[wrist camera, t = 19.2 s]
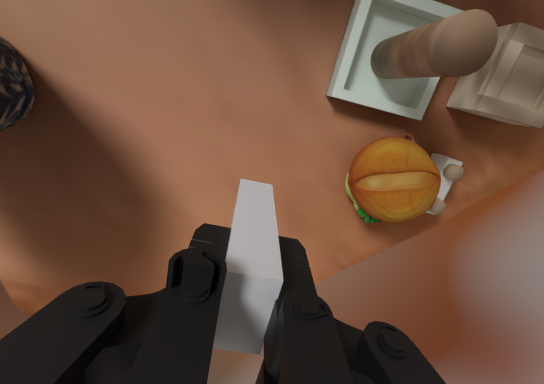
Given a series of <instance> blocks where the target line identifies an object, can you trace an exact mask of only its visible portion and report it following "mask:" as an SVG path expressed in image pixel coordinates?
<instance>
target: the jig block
mask: <svg viewBox="0 0 544 384" xmlns="http://www.w3.org/2000/svg"><path fill="white" fill-rule="evenodd" d="M497 28H498V40H497V44H496V48H495V50H494V52H493V54H492V56H491V58H490V59H489V60H488V62H487V63H486V64H485V65H484V66H483V67H482V68H480V69H479V70H478V71H476V72H474V73H472V74H470V75H466V76H459V79H458V81H457V83H456V85H455V87H454V89H453V92H452V94H451V96H450V98H449V100H448V103H447V105H446V106H447V107H450V108H454V109H457V110H461V111H464V112H468V113H471V114H475V115H479V116H482V117H486V118H489V119H493V120H496V121H500V122H503V123H509V124H516V125H522V126H528V127H534V128H541V129H542V127H543V125H544V30H542V29H539V28H536V27H534V26H531V25H528V24H525V23H522V22H517V23H513V24H508V25H504V26H500V27H497Z"/></svg>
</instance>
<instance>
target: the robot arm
mask: <svg viewBox="0 0 544 384" xmlns="http://www.w3.org/2000/svg"><path fill="white" fill-rule="evenodd" d="M263 343H264V360H263V362H262V365H261V368H260V371H259V375H258V378H257V380H256V383H255V384H446V383H445V382H444V381H443V379H442V378H441V377H440V376H439V374H438V373H437V372H436V371H435V369H434V368H433V367H432V365H431V364H430V363H429V362H428V361H427V359H426V358H425V357H424V355H422V353H421V352H420V351H419V349H418V348H417V347H416V345H415V344H414V343H413V342H412V341H411V340H410V339H409V338H408V337H407V336H406V335H405V334H404V333H403V332H402V331H400V330H399V329H397V328H396V327H394V326H392V325H390V324H387V323H385V322H378V321H374V322H371V323H368V325H367V326H366V328H365V329H364V331H361V330H359V329H357V328H354V327H352V326H350V325H347V324H345V323H343V322H341V321H339V320H337V319H335V318H334V317H333V314H332V312H331V310H330V308H329V306H328V305H327V303H326V302H324V300H322V298H320V297H318V296H317V293H316V289H315V285H314V281H313V277H312V274H311V270H310V267H309V262H308V259H307V255H306V251H305V248H304V247H303V246H302V244H301V243H300V242H299V241H298V240H297V239H292V238H287V237H282V236H278V230H277V222H276V213H275V205H274V196H273V188H272V185H269V184H265V183H260V182H255V181H250V180H245V179H241V181H240V186H239V190H238V195H237V200H236V205H235V209H234V214H233V219H232V224H231V228H227V227H222V226H216V225H211V224H206V223H204V224H203V225H201V226H200V227H199V228H197V229H196V230H195V233H194V235H193V237H192V240H191V242H190V244H189V248H188V249H184V250H181V251H179V252H177V253H175V254H174V255H173V256H172V257H171V259H170V260H169V265H168V274H167V283H166V288H164V289H162V290H160V291H158V292H155V293H151V294H146V295H138V296H128V297H126V295H125V293H124V292H123V290H122V288H120V287H118V286H117V285H115V284H113V283H108V282H102V281H100V282H88V283H85V284H81V285H78V286H75V287H73V288H71V289H69V290H67V291H66V292H64V293H62V294H61V295H59V296H58V297H57V298H55V299H54V300H53V301H51V302H50V303H49V304H47V305H46V306H45V307H43V308H42V309H41V310H39V311H38V312H37V313H35V314H34V315H33V316H31V317H30V318H29V319H27V320H26V321H25V322H24V323H22V324H21V325H20V326H18V327H17V328H16V329H14V330H13V331H12V332H10V333H9V334H7V335H6V336H5V337H3V338H2V339H1V340H0V384H207V378H208V373H209V367H210V361H211V354H212V349H221V350H229V351H237V352H245V353H253V354H260V352H261V349H262V346H263Z"/></svg>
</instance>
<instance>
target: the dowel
mask: <svg viewBox="0 0 544 384" xmlns="http://www.w3.org/2000/svg"><path fill="white" fill-rule="evenodd" d="M497 40H498V28H497V24H496V22H495V20H494V18H493V17H492V16H491V15H490V14H489V13H488V12H486V11H484V10H481V9H471V10H467V11H464V12H461V13H459V14H456V15H453V16H450V17H447V18H444V19H441V20H439V21H436V22H433V23H430V24H427V25H424V26H422V27H419V28H416V29H413V30H410V31H407V32H404V33H402V34H399V35H396V36H393V37H390V38H387V39H385V40H383V41H381V42H380V43H379V44H378V45H377V46H376V47H375V48H374V50H373V52H372V55H371V61H370V63H371V68H372V71H373V72H374V74H375V75H376V76H378V77H379V78H382V79H400V78H426V77H452V76H466V75H470V74H472V73H474V72H476V71H478V70H479V69H480V68H482V67H483V66H484V65H485V64H486V63H487V62H488V60H489V59H490V58H491V56H492V54H493V52H494V50H495V48H496V44H497Z"/></svg>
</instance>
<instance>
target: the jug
mask: <svg viewBox="0 0 544 384" xmlns="http://www.w3.org/2000/svg"><path fill="white" fill-rule="evenodd" d="M33 103H34V91H33V84H32V81H31V78H30V76H29V73H28V71H27V69H26V67H25V65H24V63H23V61H22V59H21V58H20V56H19V55H18V54H17V53H16V52H15V50H14V49H13V48H12V47H11V46H10V45H9V44H8V43H7V42H6V41H5V40H4V39H2V38H1V37H0V131H2V130H3V129H5V128H8V127H10V126H12V125H14V124H16V123H19V122H20V120H22V119H23V118H25V117H26V116H27V115H28V114H29V112H30V111H31V109H32V106H33Z"/></svg>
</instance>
